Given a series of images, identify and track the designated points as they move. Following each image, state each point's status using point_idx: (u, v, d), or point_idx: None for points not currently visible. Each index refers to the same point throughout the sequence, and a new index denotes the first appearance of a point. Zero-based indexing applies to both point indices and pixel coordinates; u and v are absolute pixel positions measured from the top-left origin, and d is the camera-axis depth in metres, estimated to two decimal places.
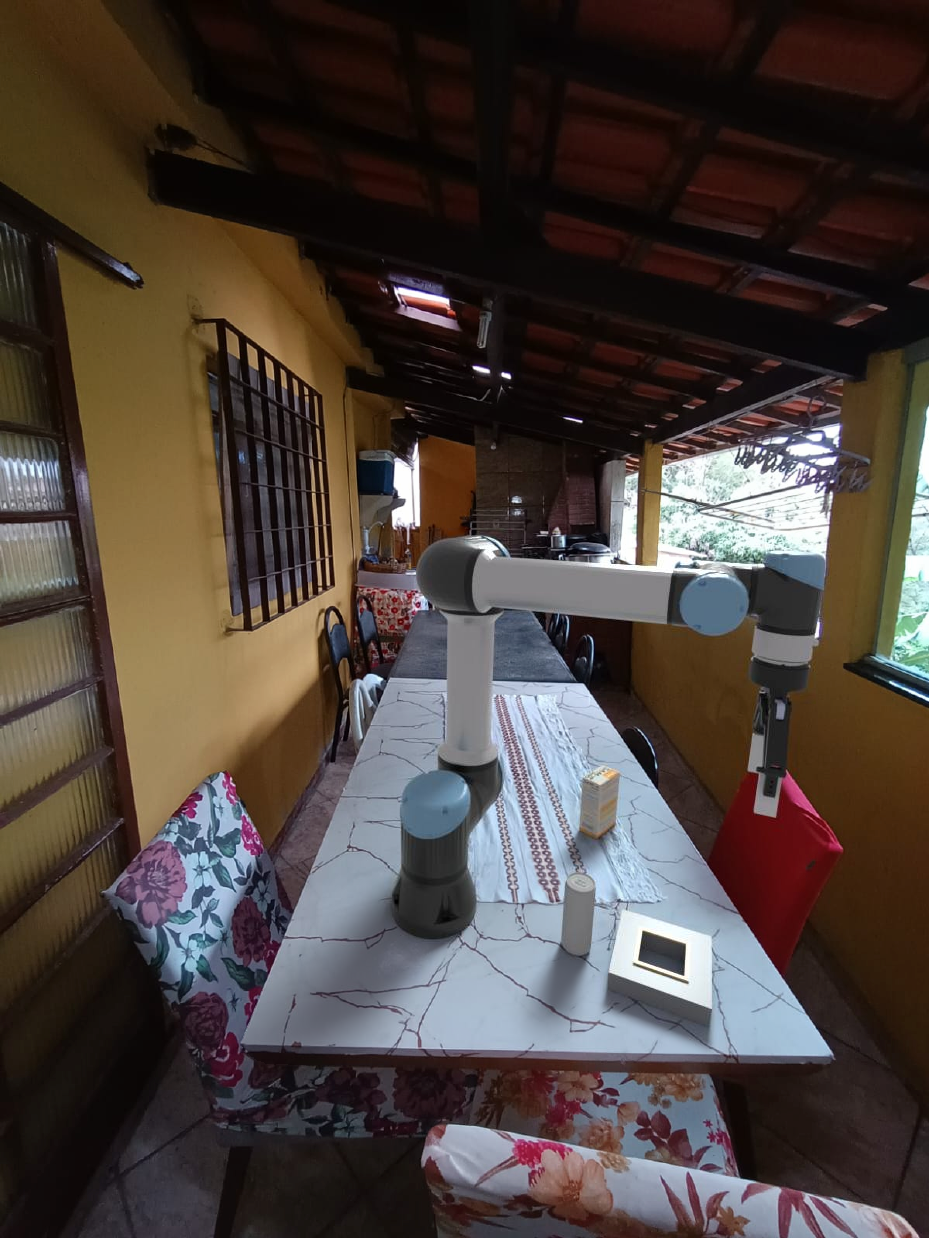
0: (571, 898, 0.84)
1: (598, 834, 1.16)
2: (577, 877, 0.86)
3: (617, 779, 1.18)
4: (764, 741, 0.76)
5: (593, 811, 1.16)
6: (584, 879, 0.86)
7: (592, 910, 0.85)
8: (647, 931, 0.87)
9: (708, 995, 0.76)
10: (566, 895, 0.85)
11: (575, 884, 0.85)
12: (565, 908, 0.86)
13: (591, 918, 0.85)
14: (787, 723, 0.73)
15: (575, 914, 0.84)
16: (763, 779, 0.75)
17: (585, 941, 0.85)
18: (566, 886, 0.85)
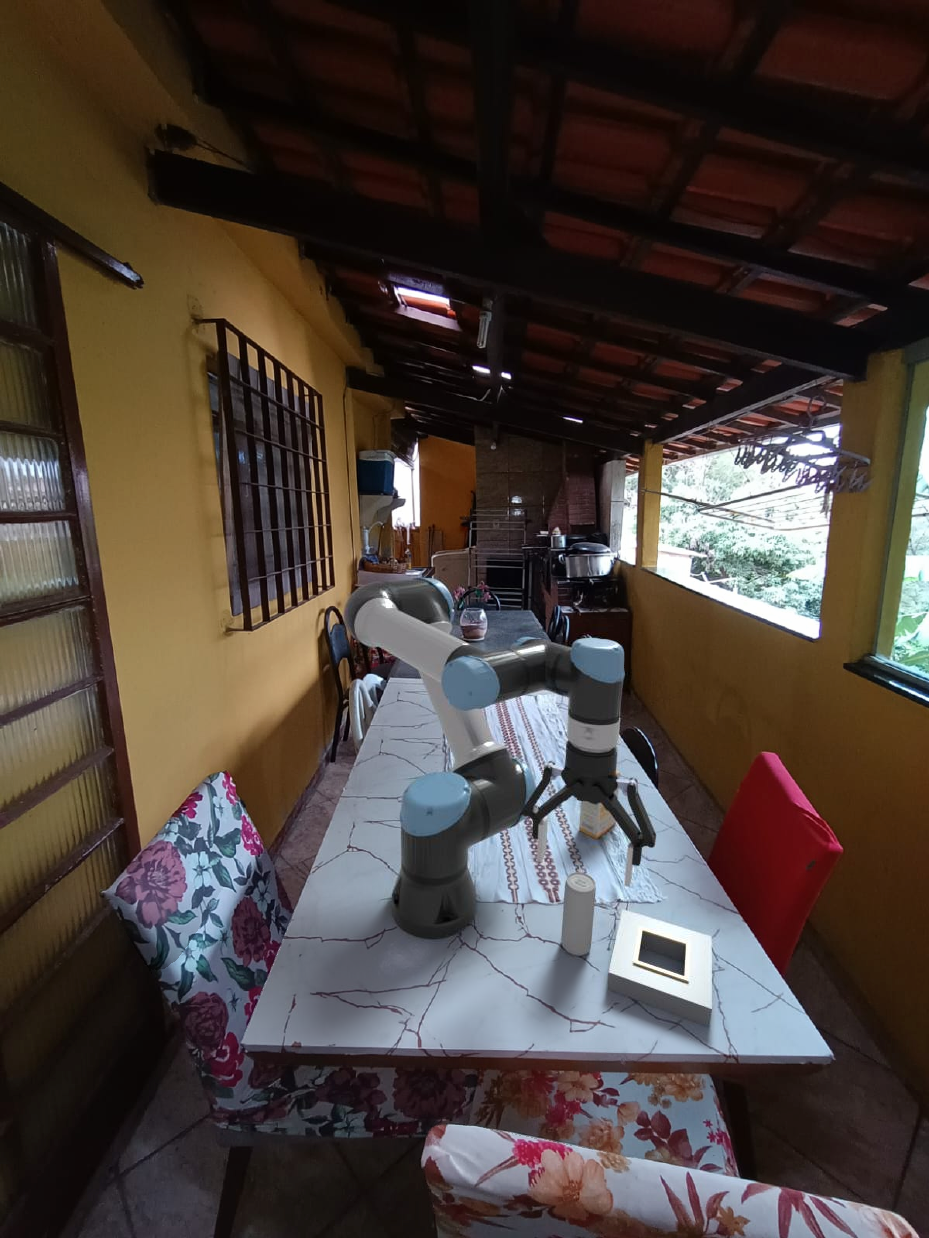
0: (571, 898, 0.84)
1: (598, 834, 1.16)
2: (577, 877, 0.86)
3: None
4: (553, 796, 0.86)
5: (593, 811, 1.16)
6: (584, 879, 0.86)
7: (592, 910, 0.85)
8: (647, 931, 0.87)
9: (708, 995, 0.76)
10: (566, 895, 0.85)
11: (575, 884, 0.85)
12: (565, 908, 0.86)
13: (591, 918, 0.85)
14: None
15: (575, 914, 0.84)
16: None
17: (585, 941, 0.85)
18: (566, 886, 0.85)
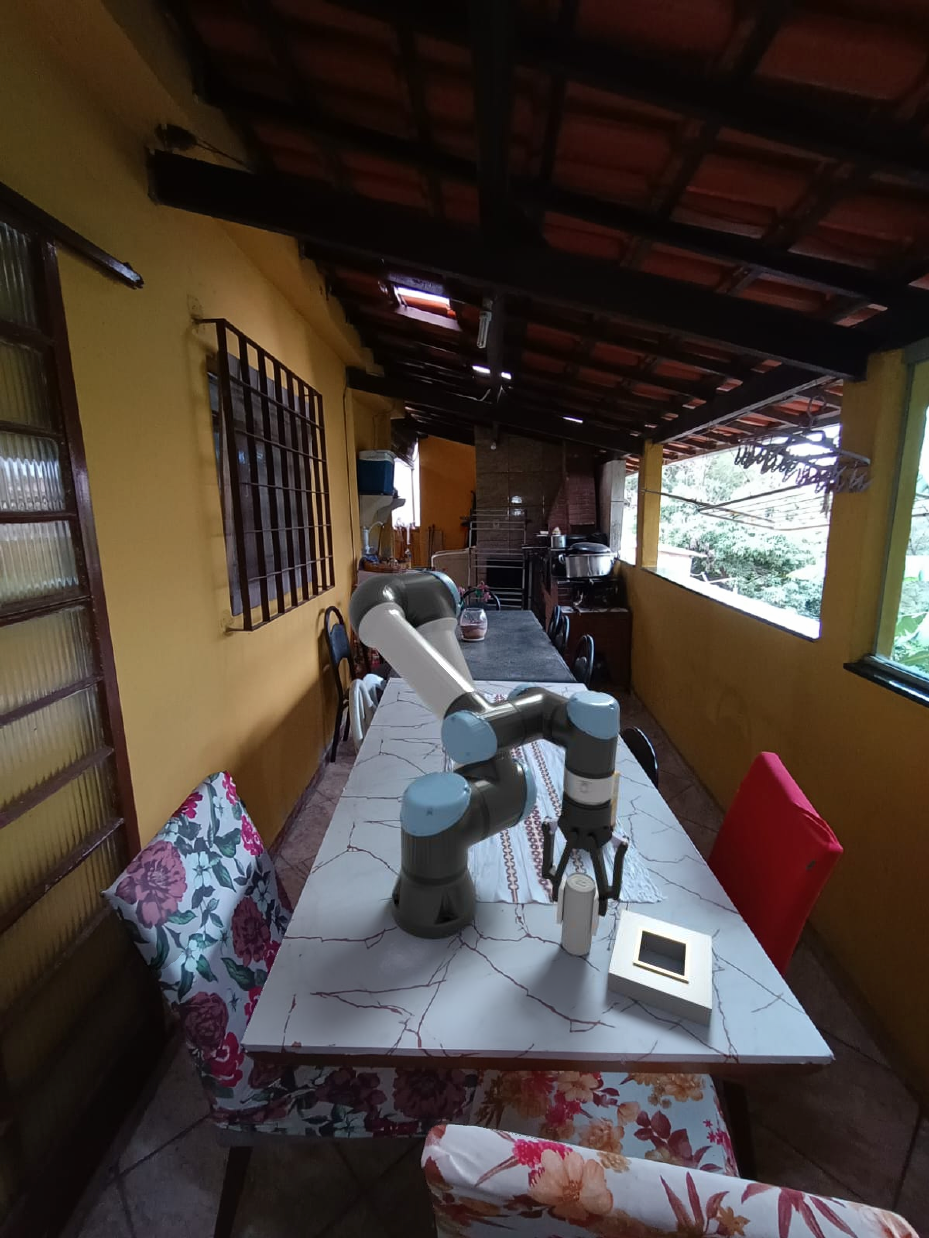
0: (571, 898, 0.84)
1: None
2: (578, 877, 0.86)
3: (617, 779, 1.18)
4: None
5: None
6: (584, 879, 0.86)
7: (592, 910, 0.85)
8: (647, 931, 0.87)
9: (708, 995, 0.76)
10: (566, 895, 0.85)
11: (575, 884, 0.85)
12: (565, 908, 0.86)
13: (591, 918, 0.85)
14: (544, 837, 0.85)
15: (575, 913, 0.84)
16: None
17: (585, 941, 0.85)
18: (566, 886, 0.85)
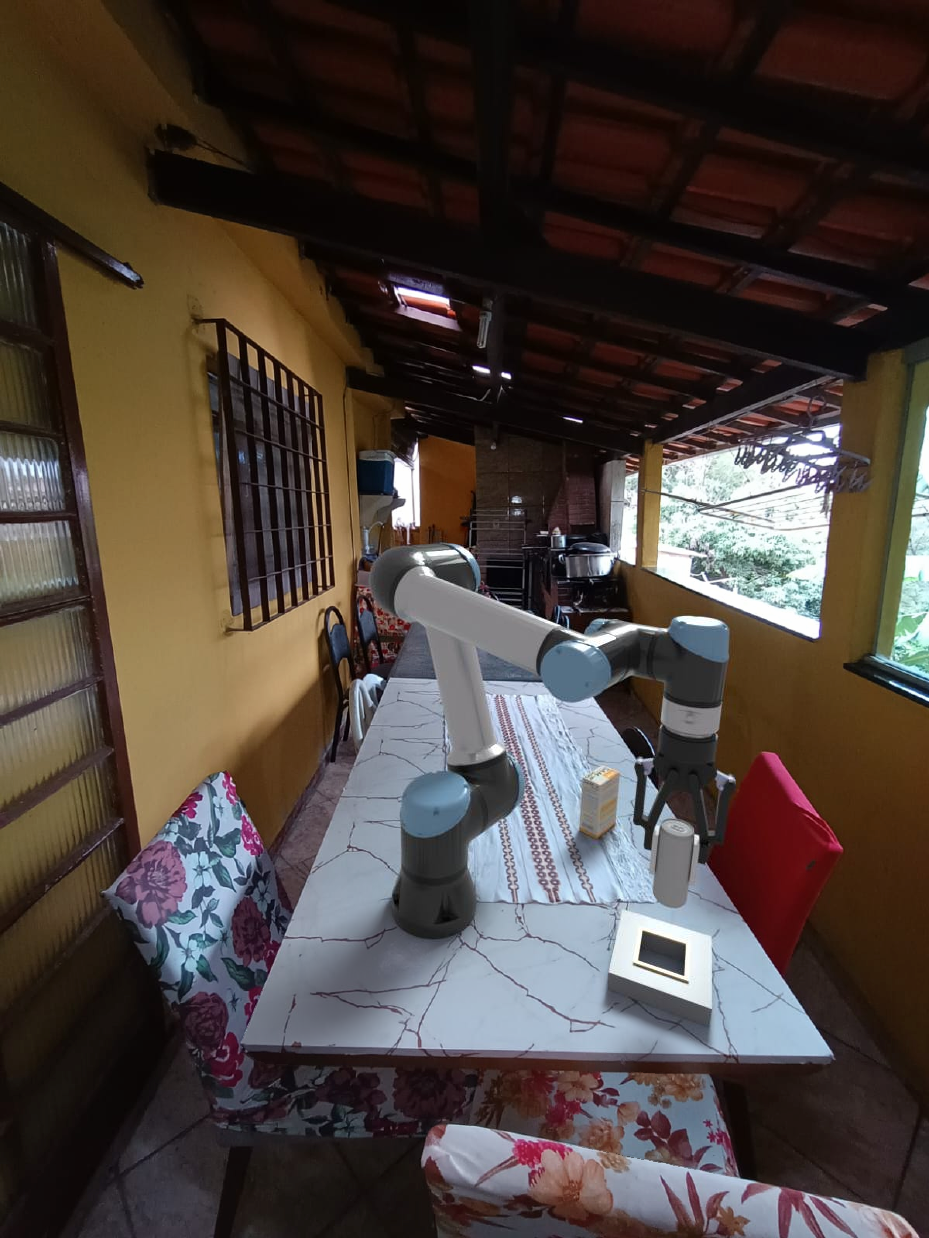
0: (669, 844, 0.77)
1: (598, 834, 1.16)
2: (673, 823, 0.79)
3: (617, 779, 1.18)
4: (656, 798, 0.80)
5: (593, 811, 1.16)
6: (680, 825, 0.79)
7: (691, 857, 0.78)
8: (647, 931, 0.87)
9: (708, 995, 0.76)
10: (662, 841, 0.78)
11: (672, 829, 0.78)
12: (660, 856, 0.79)
13: (689, 866, 0.78)
14: (637, 779, 0.78)
15: (672, 861, 0.77)
16: None
17: (683, 891, 0.78)
18: (662, 832, 0.78)
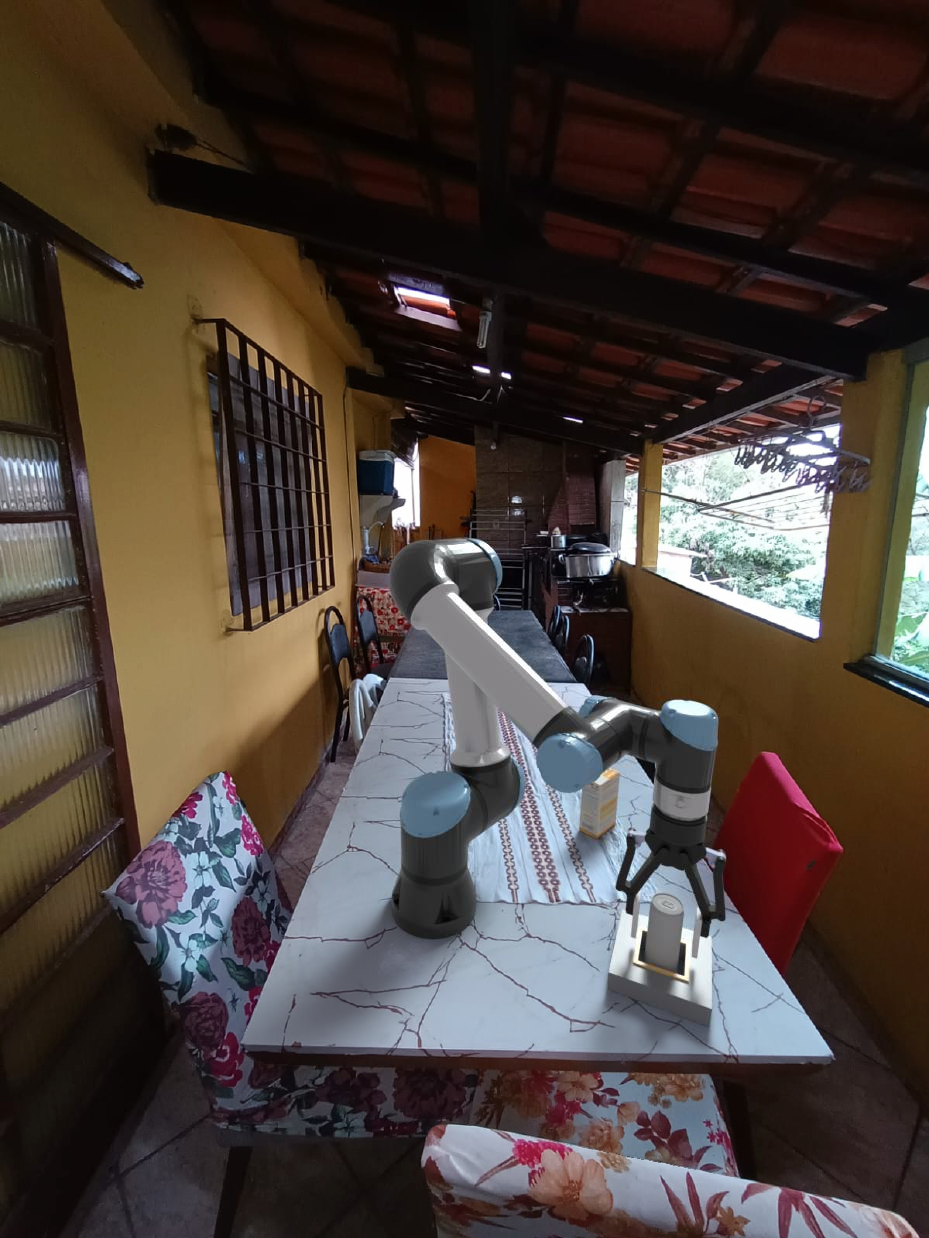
0: (659, 920, 0.80)
1: (598, 834, 1.16)
2: (663, 898, 0.82)
3: (617, 779, 1.18)
4: (642, 866, 0.83)
5: (593, 811, 1.16)
6: (670, 900, 0.82)
7: (680, 933, 0.80)
8: None
9: (708, 995, 0.76)
10: (652, 917, 0.81)
11: (662, 906, 0.81)
12: (651, 931, 0.81)
13: (679, 942, 0.81)
14: (627, 849, 0.81)
15: (662, 937, 0.80)
16: None
17: (673, 965, 0.81)
18: (652, 908, 0.81)
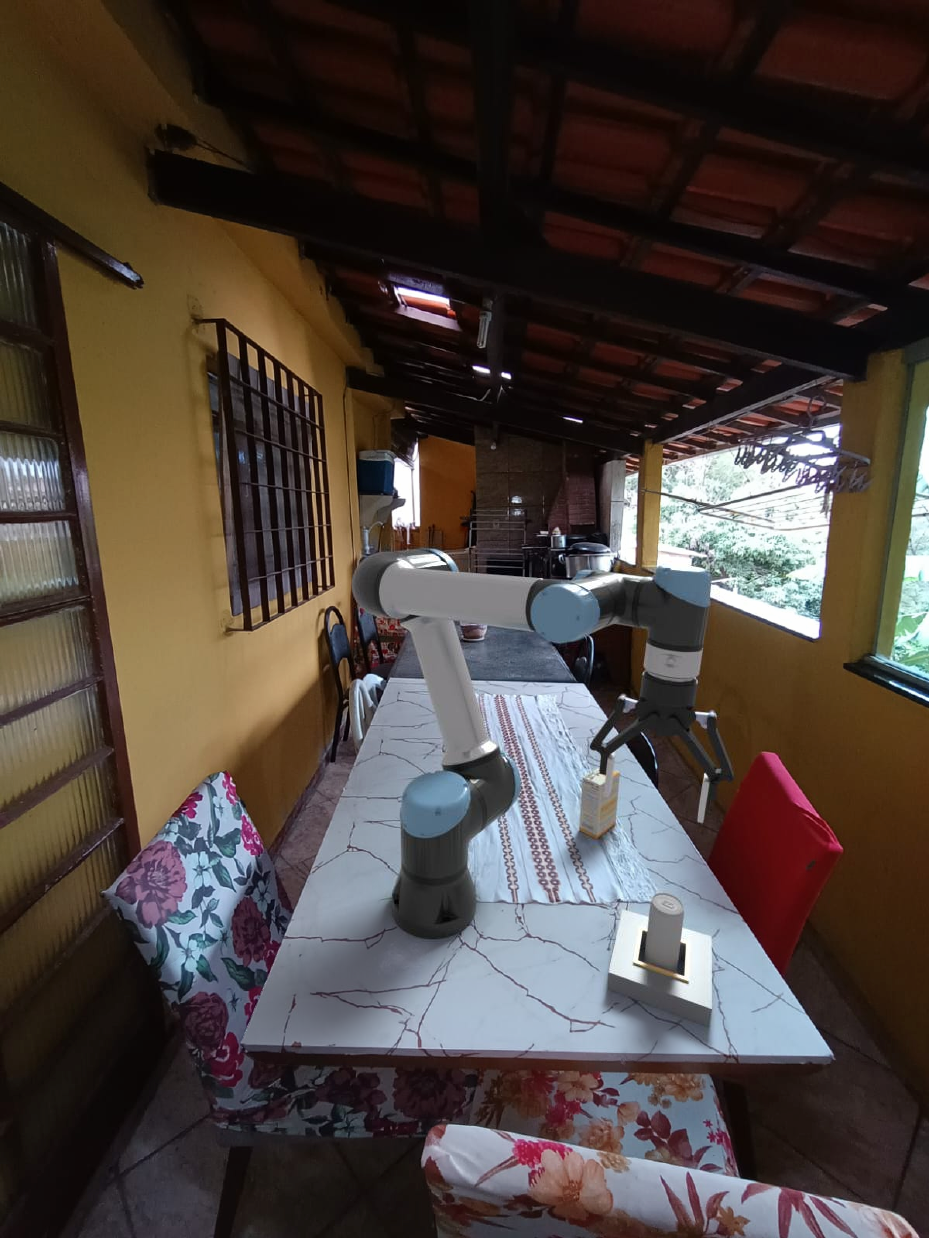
0: (659, 920, 0.80)
1: (598, 834, 1.16)
2: (663, 898, 0.82)
3: (617, 779, 1.18)
4: (623, 731, 0.83)
5: (593, 811, 1.16)
6: (670, 900, 0.82)
7: (680, 933, 0.80)
8: None
9: (708, 995, 0.76)
10: (652, 917, 0.81)
11: (662, 906, 0.81)
12: (651, 931, 0.81)
13: (679, 941, 0.81)
14: (613, 712, 0.81)
15: (662, 937, 0.80)
16: None
17: (673, 965, 0.81)
18: (652, 908, 0.81)
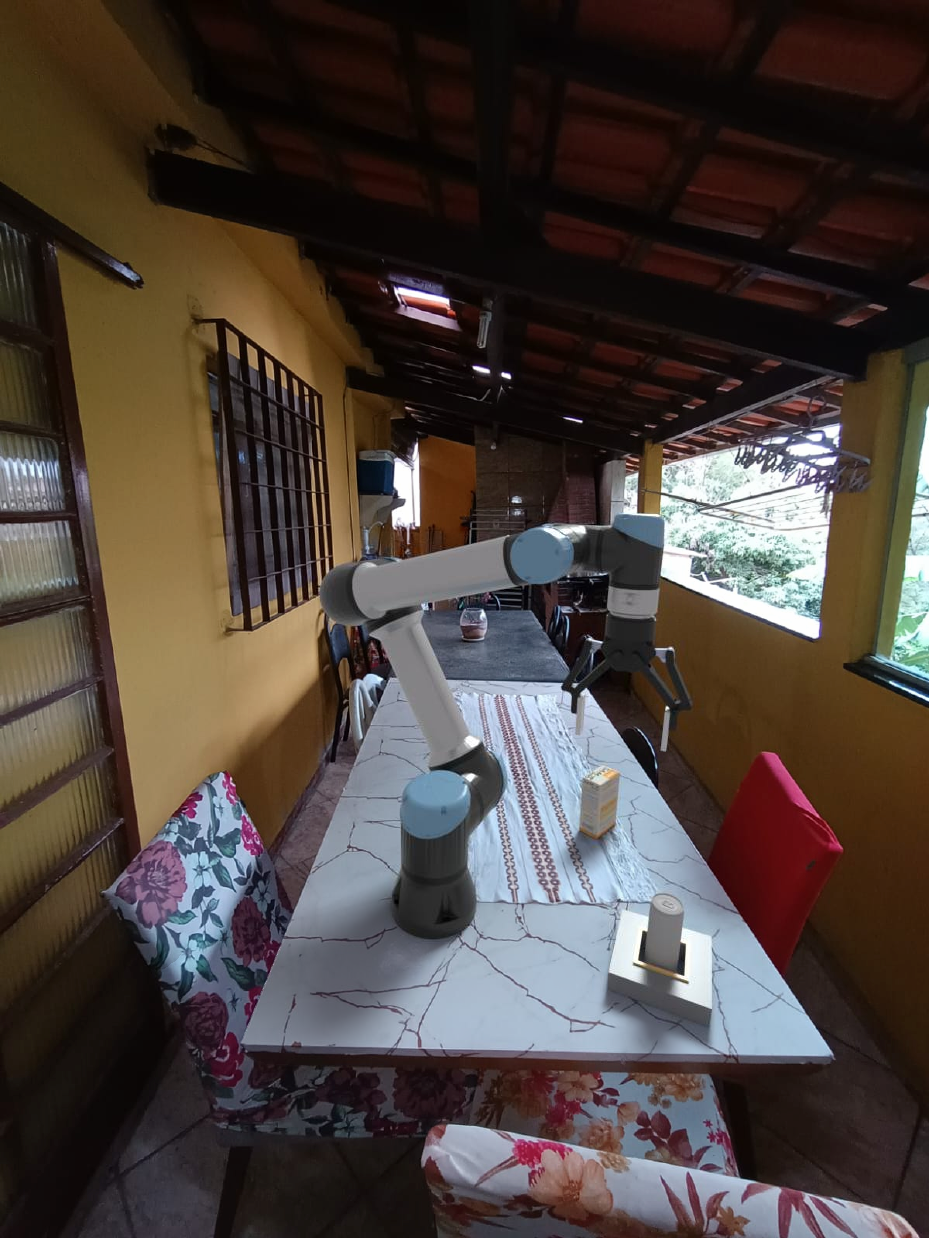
0: (659, 920, 0.80)
1: (598, 834, 1.16)
2: (663, 898, 0.82)
3: (617, 779, 1.18)
4: None
5: (593, 811, 1.16)
6: (670, 900, 0.82)
7: (680, 933, 0.80)
8: None
9: (708, 995, 0.76)
10: (652, 917, 0.81)
11: (662, 906, 0.81)
12: (651, 931, 0.81)
13: (679, 942, 0.81)
14: None
15: (662, 937, 0.80)
16: None
17: (673, 965, 0.81)
18: (652, 908, 0.81)
